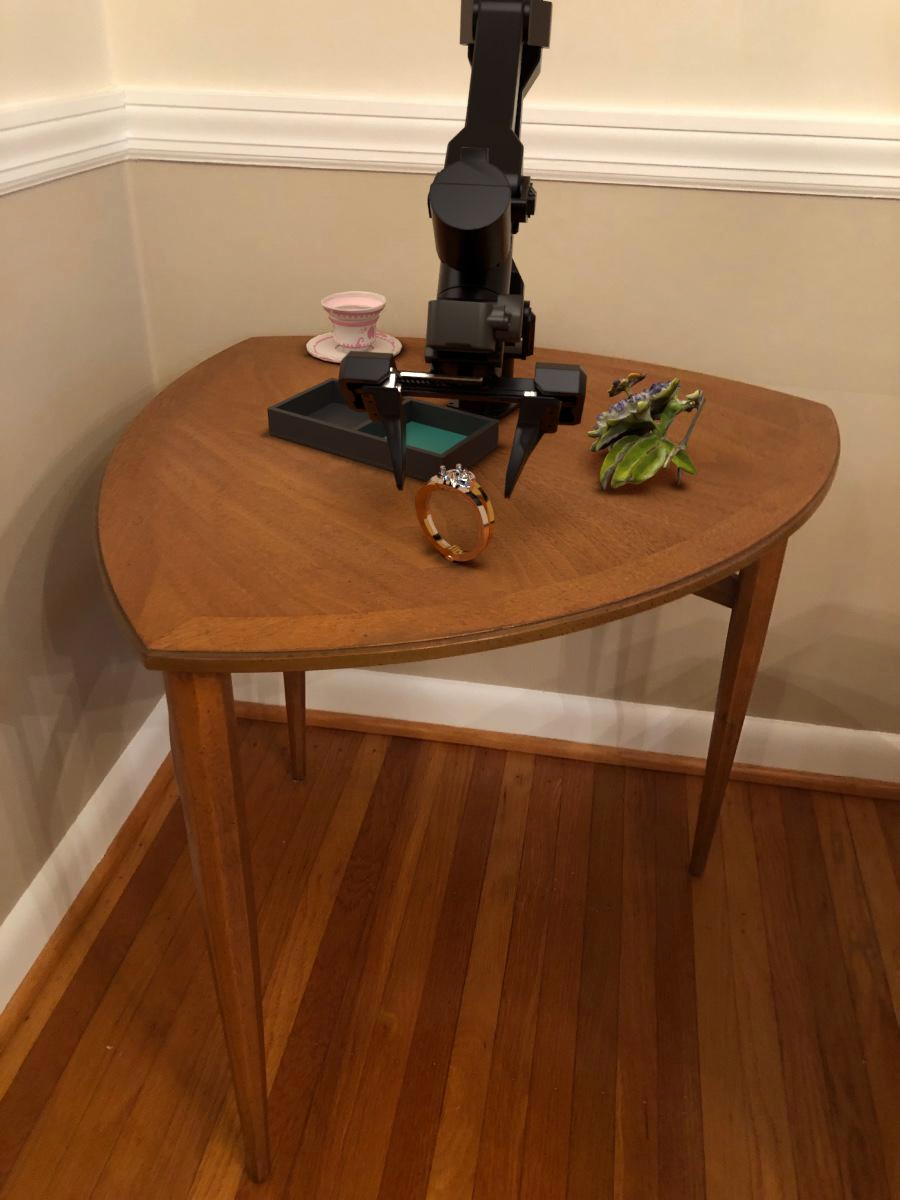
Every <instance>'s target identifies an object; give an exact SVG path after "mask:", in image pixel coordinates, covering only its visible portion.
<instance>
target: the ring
mask: <svg viewBox="0 0 900 1200" xmlns="http://www.w3.org/2000/svg"><path fill="white" fill-rule="evenodd" d="M440 469H441V473H439V474H437V475H435V476H434V477H432V478H431V479H430V480H429V481H428V482H426V483H425V484H424V485H422V486H421V487H419V488H418V490H417V491H416V494H415V499H414V503H415V504H414V505H415V512H416V516H417V518H418V522H419V525H420V527H421V529H422V531H423V533H424V535H425V536H426V538H427V539H428V541H429V542H430V543H431V545H432V546H433V547H434V548H435V549H436V550H437V551H438V552H439V553H441V554H442V555H443V556H445V559H446V560H447V561H449V562H454V561H456V562H468V561H470V560H472V559H476V558H477V557H479V556H481V555H482V554H483V553H485V551H487V549H488V547H489V545H490V543H491V541H492V538H493V535H494V532H495V531H494V530H495V513H494V508H493V505H492V503H491V500H490V498H489V496H488V494H487V493H486V491H485V490H484V488H483V487H482V486H481V485H480V484H479V483H478V482H477V479H476V475H475V474H474V473H473V472H472V471H470V470H469V468H465V469H464V470H463V469H461V464H457V465H456V469H454V470H448V471H446V469H445V466H441V467H440ZM443 489H446V490H449V491H451V492H454V493H456V494H458V495H459V496H461V497H463V498H464V499H465V500H466V501H467V502H468V503H469V504H470V505H471V507H472V508H473V511H474V513H475V515H476V518H477V522H478V537H477V542H476V544H475V545H474V547H473V548H472V549H471V550H470V549H469V550H461V547H459V545H456V544H453V545H451V544H449V543H448V542H447V541H446V540H445V539H444V538H443V536H442V535H441V534H440V533H439V532H438V529H437V528H436V526H435V524H434V521H433V518H432V514H431V508H430V507H431V497H432V494H433V492H437V491H441V490H443Z"/></svg>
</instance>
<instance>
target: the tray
mask: <svg viewBox="0 0 900 1200" xmlns="http://www.w3.org/2000/svg"><path fill="white" fill-rule="evenodd" d="M402 405H403V408H404V412H405V416H406V476H407V477H410V478H413V479H417V480H421V481H423V482H426V483H427V482H428V481H429V480H430V479H431V478H432V477H434V476H435V475H437V474H439V473H441V469H440V467H441V466H445V469H446V471H448V470H454V469H456V465H457V464H461V469H463V470H464V469H465V468H467V469H469V468H471V467H472V466H473V465H475V464H476V463H477V462H479V461H481V460H482V459H483V458H484V457H486V456H488V455H489V454H490V453H492V452H493V451H494V450H496V449H498V448H499V435H500V419H499V420H497V419H493V418H489V417H485V416H481V415H477V414H473V413H469V412H465V411H461V410H458V409H454V408H450V407H447V405H446V406H445V405H442V404H437V403H434V402H430V401H426V400H422V399H418V398H415V397H409V396H404V399H403V402H402ZM266 410H267V421H268V423H267V424H268V434H269V436H272V437H276V438H279V439H282V440H286V441H289V442H292V443H296V444H299V445H303V446H306V447H309V448H311V449H312V448H313V449H316V450H319V451H323V452H327V453H329V454H332V455H336V456H339V457H343V458H346V459H349V460H352V461H356V462H360V463H362V464H366V465H371V466H373V467H376V468H379V469H383V470H386V471H390V472H393V473H394V471H393V466H392V461H391V456H390V451H389V446H388V441H387V437H386V433H385V430H384V427H383V424H382V423H380V422H374V421H371V420H370V419H369V416H368V413H367V412H357V411H354V410H352V409H349V407H348V404H347V402H346V400H345V397H344V395H343V392H342V390H341V388H340V385H339V383H338V378H335V377H330V378H328V379H326V380H324V381H322V382H319V383H318V384H317V383H316V385H313V386H311V387H308V388H307V389H305V390H303V391H300V392H298V393H296V394H294V395H292V396H290V397H288V398H286V399H283V400H282V401H280V402H277V403H275V404H273V405H270V406H269V407H267V408H266Z"/></svg>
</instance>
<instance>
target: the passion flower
mask: <svg viewBox="0 0 900 1200" xmlns="http://www.w3.org/2000/svg"><path fill="white" fill-rule="evenodd" d="M646 377H647V373H646V372H642V373H637V372H631V373H629V374H628V375H627V377H626V378H624V377H621V378H615V379H614V380H613V381H612V386H611V387H610V388H609V389H608V390H607V393H608V397H609V398H614V397H616V396H618V395H620V394H621V393H622V392H625V393H626V395H627V398H623V399H620V400H619V401H618V402H617V403H615V404H608V406H609V408H608V410H607V411H601V412H600V414H598V415H597V416H596V417H595V419H596V424H595V425H593V426H590V427H589V428H590V429H591V428H593V429H592V430H589V431H588V432H587V436H588V437H589V438H592V439H596V440H595V441H594V442H593V443H592V444H591V447H590V448H589V450H590V452H591V453H598V452H600V451H604V450H605V449H607V448H608V453H607V454H606V456H605V458H604V459H603V462H602V465H601V468H600V469H599V482H600V484H601V488H602V490H604V491H605V490H606V489H607V485H608V482H609V481H610V487H611V488H613V489H617V488H619V487H621V486H625V485H627V484H628V483H630V484H633V485H641V483H644V482H646V481H648V480H649V479H651V478H652V477H654V476H655V475H656V474H657V472H658V471H659V470H661V468H662V469H663V470H664V471H667V470H668V469H669V468H670V464H671V462H672V463H673V464H674V465H675V466H676V467H677V472H676V477H677V478H676V479H677V480H676V481H677V482H676V484H677V486H680V482H681V478H682V473H683V472H685V473H688V474H690V475H693V476H696V475H697V468H696V466H695V463H694V462H693V461H692V459H691V457H690V456H689V454H688V453H687V448H688V442H689V438H690V437H691V434H692V432H693V430H694V427H695V424H696V423H697V420H698V418H699V416H700V414H701V413H702V411H703V410H704V406H705V404H706V401H707V399H706V397H705V395H704V392H703V389H696V390H695V391H694V392H693V393H690V394H686V395H685V398H686V399H687V400H686V399H679V397H678V395H679V391H681V389H682V385H680V381H681V380H680V378H678V377H674V379H673V380H672V379H668V380H667V381H666V382H665V383H664V381H658V382H655V383H652V385H651V386H650V388H648V389H647V388H644V389H643V390H642V391H641V392H639V393H637V392H634V394H633V393H632V391H631V388H632V387H634V386H636V385H637V384H639V383H641V382H642V381H643V380H645V378H646ZM694 409H696V413H695V415H694V417H693V418H692V420H691V423H690V425H689V427H688V428H687V432H686V433H685V436H684V437H683V439H682V440H681V441H679V442H678V443H675V442H674V441H671V440H669V439H668V436H667V435H668V432H669V431H668V430H669V428H670V427H671V425H672V424H673V423H674V421H675V419H676V417H677V416H678V415H680V414H681V413H683V412H686V413H689V414H690V413H691V412H692V411H693V410H694ZM655 421H659V422H655ZM597 438H598V439H597ZM611 477H612V478H611ZM610 479H611V480H610Z"/></svg>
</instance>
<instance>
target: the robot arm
mask: <svg viewBox="0 0 900 1200" xmlns="http://www.w3.org/2000/svg"><path fill="white" fill-rule="evenodd" d="M553 7H554V5H553V1H549V0H460V15H459V17H460V19H459V45H460V46H463V47H467V55H466V56H467V60H468V64H469V67H470V78H469V80H470V81H469V86H468V96H467V104H466V105H467V106H466V113H465V120H464V126H463V128H462V129H461V130H459V132H457V133H456V134H455V136H453V137H452V138H451V139H450V140H449V141H448V142H447V146H446V150H445V151H446V152H445V156H444V157H445V159H444V164H443V168H442V169H441V170H440V171H437V172H436V174H435V176H434V178H433V181H432V183H431V184H430V185H429V190H428V194H427V197H426V199H427V200H426V202H427V203H426V204H427V211H428V218H429V219H431V222H432V231H433V237H434V238H433V239H434V245H435V252H436V254H437V257H438V260H439V271H438V279H437V280H438V281H437V291H436V299H432V300H431V299H430V300H428V302H427V316H426V317H427V319H426V333H425V346H424V353H423V354H424V356H423V358H424V362H425V364H428V371H415V370H413V371H412V370H399V369H398V366H397V363H396V359H395V356H394V355H393V353H379V352H362V351H349V352H348V353H347V354H346V356H345V357H344V358H343V359H342V360H341V362H340V363H339V370H338V378H337V379H338V383H339V385H340V388H341V390H342V392H343V395H344V397H345V400H346V402H347V404H348V407H349V409H352V410H354V411H357V412H367V413H368V416H369V419H370V420H371V421H374V422H380V423H382V424H383V427H384V430H385V433H386V437H387V441H388V446H389V451H390V456H391V461H392V466H393V471H394V472H393V471H392V472H393V475H394V480H395V486H396V490H397V491H399V492H403V491H404V488H405V482H406V416H405V412H404V408H403V405H402V402H403V399H404V396H407V397H410V398H428V399H439V400H441V399H443V400H450V401H447V402H446V407H450V408H454V409H458V410H461V411H465V412H469V413H473V414H477V415H481V416H485V417H489V418H493V419H497V420H499V421H500V420H501V419H502V418H504V417H505V416H507V415H508V414H509V413H511V412H513V411H514V410H516V409H517V408H518V407H519V410H518V417H517V422H516V427H515V431H514V436H513V441H512V445H511V450H510V454H509V457H508V464H507V467H506V472H505V480H504V481H505V482H504V491H503V492H504V493H503V496H504V499H508V500H509V499H511V496H512V494H513V492H514V490H515V487H516V485H517V483H518V481H519V479H520V477H521V475H522V472H523V470H524V468H525V466H526V464H527V462H528V460H529V458H530V457H531V455H532V453H533V452H534V450H535V449H536V447H537V446H538V445H539V443H540V441H541V440H542V438H543V437H544V435H548V434H549V435H550V434H551V435H553V434H557V432H558V430H559V429H558V428H559V426H570V427H573V426H577V425H580V424H581V423H582V418H583V413H584V407H585V401H586V398H587V397H586V395H587V383H588V373H587V371H586V370H585V369H584V367H583V366H582V365H581V364H578V363H577V364H576V363H559V362H544V361H542V362H541V361H535V366H534V378H530V377H528V378H527V377H514V372H515V369H514V368H515V360H521V361H527V357H531V356H534V352H535V336H536V321H537V320H536V319H537V315H536V314H535V313H534V312H533V311H532V309H533V308H532V307H531V300H528V299H526V300H525V292H526V291H525V289H526V286H525V281H524V279H523V278H522V275H521V273H520V271H519V268H518V267H517V264H516V262H515V260H514V258H513V253H514V251H513V250H514V238H515V235H517V234H519V231H520V224H527V223H528V221H529V219H531V216H535V213H536V209H537V208H536V207H537V199H538V191H537V189H535V188H534V182H531V181H532V177H531V175H524V159H525V157H524V155H525V146H524V144H523V142H522V141H521V139H522V138H521V137H522V123H523V109H524V100H525V98H526V97H527V95H528V93H529V92H530V90H531V89H532V87H533V85H534V84H535V82H536V81H537V79H538V77H539V76H540V75H541V72H542V60H543V49H544V50H547V49H548V50H549V49H550V47H551V40H552V39H551V38H552V37H551V36H552V25H553V24H552V22H553Z"/></svg>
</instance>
